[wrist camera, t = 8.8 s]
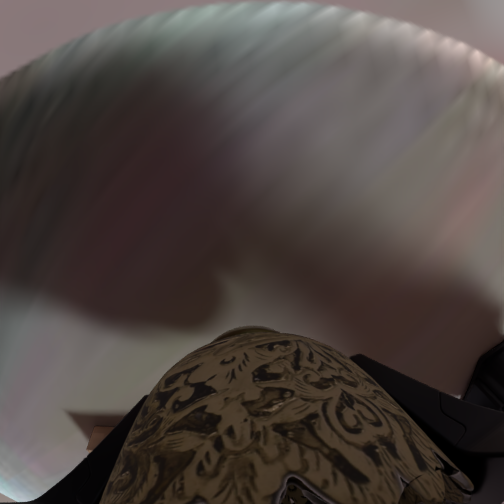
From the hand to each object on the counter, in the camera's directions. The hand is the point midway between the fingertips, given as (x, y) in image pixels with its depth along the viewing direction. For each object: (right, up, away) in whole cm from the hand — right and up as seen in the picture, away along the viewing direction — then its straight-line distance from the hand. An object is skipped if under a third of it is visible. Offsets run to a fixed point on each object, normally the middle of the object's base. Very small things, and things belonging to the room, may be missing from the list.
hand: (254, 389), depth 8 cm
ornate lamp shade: (0, +1, +2) cm, 2 cm away
